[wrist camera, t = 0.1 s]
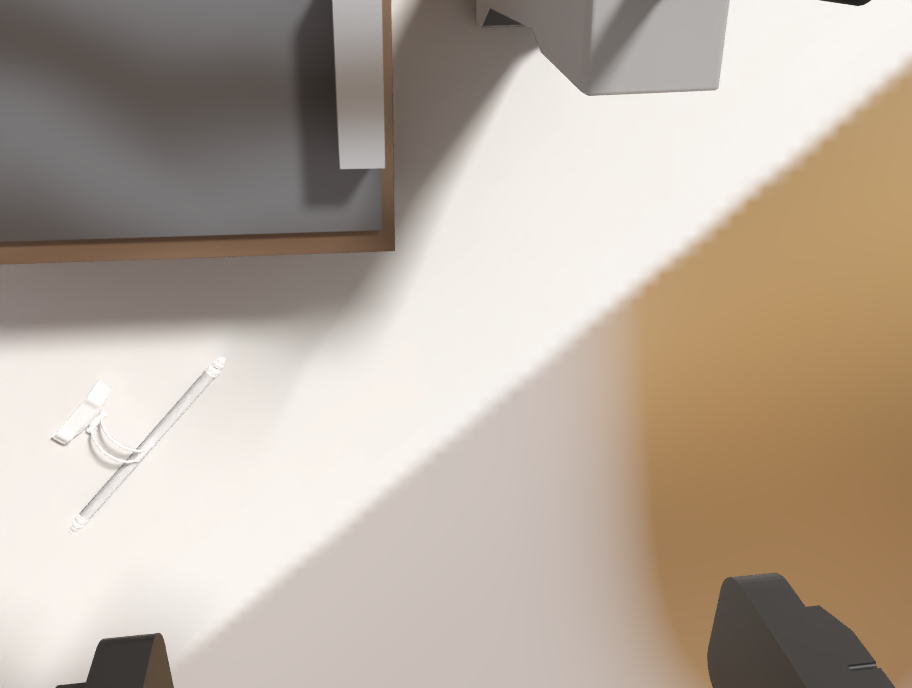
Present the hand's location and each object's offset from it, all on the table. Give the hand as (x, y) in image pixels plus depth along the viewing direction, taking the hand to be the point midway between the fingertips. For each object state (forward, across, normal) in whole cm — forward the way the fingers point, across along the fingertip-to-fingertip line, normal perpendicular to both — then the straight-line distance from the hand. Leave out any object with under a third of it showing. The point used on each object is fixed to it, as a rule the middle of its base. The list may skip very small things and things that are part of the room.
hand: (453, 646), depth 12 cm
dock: (+29, +8, -5) cm, 31 cm away
